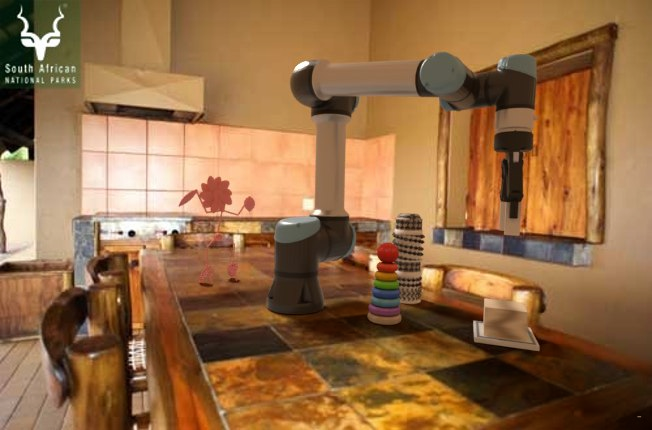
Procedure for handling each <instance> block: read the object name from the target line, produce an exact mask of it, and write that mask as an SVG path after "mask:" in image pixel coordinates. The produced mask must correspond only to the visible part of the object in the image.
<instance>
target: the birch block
mask: <svg viewBox="0 0 652 430" xmlns="http://www.w3.org/2000/svg"><path fill="white" fill-rule="evenodd" d="M528 313H529V312H528V310H527V307H526V305H525V303H524V302H522V301H521V302H520V301H511V300H503V299H495V298H486V297H485V298H484V299H483V321H482V322H483V331H484V335H486V336H493V337H500V338H507V339H514V340H521V341H526V333H527V327H528V315H529V314H528Z"/></svg>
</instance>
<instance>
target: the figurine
mask: <svg viewBox="0 0 652 430" xmlns="http://www.w3.org/2000/svg"><path fill="white" fill-rule="evenodd" d="M200 187H201V192H199V191H198V189H197V188H195V189H194V190H191V191H189V192H188V193H186V194H185V195H184V196H183V197H182V198H181V200H180V202H179V204H178V207H179V208H180V207H182V206H184V205H186V204H187V203H189V202H190V201H191V200H192V199H194V197H195V195H197V197H198V199H199V201H200V203H201V206H202V208H203V210H204V212H205V214H216V213H218V212H220V215H219V221H218V227H217V231H216V233H215V234H214V237H213V239H212V240H211V241H210V242H209V243H208V245H206V267H205V268H204V269H203V270H202V272H201V273H200V275H199V276H200V277H199V280H198V281H199V283H201V282H202V281H203V280H204V279H205V278H206V277H207V276H206V275H209V281H210V285H211V284H214V283H213V278H212V274H211V268H212V266H211V264H209V250H208V249H209V246H210V245H212V243H213V242H214V241H216V242H221V241H222V240H223V241H226V242H228V243H230V244H232V245H233V249H232V250H233V251H232V261H231V263H230V264H229V265H228V266H227V268H226V272H227V275H228V276H230V277H232V278H233V277H234V278H235V282H237V281H238V276H237V274H236V273H237V272H238V270H239V266H238V264H237V263H236V262H235V261H234V258H235V249H236V244H235V242H232V241H229V240H228V239H226V238H224V236H223V234H222V233H220V232H219V231H220V228H221V227H220V226H221V223H222V219H223V218H222V217H223V213H227V214H231V215H233V216H234V215H235V216H236V217H239V215H240V214H241V213H242V211H243V210H244V208H245V210H247V211H248V212H249V213H250V212H252V211H253V209H254V208H255V205H256V201H255V199H254V198H253V197H252V196H250V195H248V197H246V198H245V199H244V200H243V205H242V207H241V208H240V210H239V211H238V212H237V213H235V212H231V211H229V210H226V205H227V206H232V204H233V200H232V197H231V196H232V194H233V192H232V190H231V189H229V187H230V181H229V180H225V179H224V180H222V177H221V176H216V177H215V178H214V177H213V175H209V176H208V178H207V181H206V183H205V182H202V183H201V184H200ZM208 208H210V210H209V211H208V210H207V209H208ZM251 279H253V277H252V276H251Z"/></svg>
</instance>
